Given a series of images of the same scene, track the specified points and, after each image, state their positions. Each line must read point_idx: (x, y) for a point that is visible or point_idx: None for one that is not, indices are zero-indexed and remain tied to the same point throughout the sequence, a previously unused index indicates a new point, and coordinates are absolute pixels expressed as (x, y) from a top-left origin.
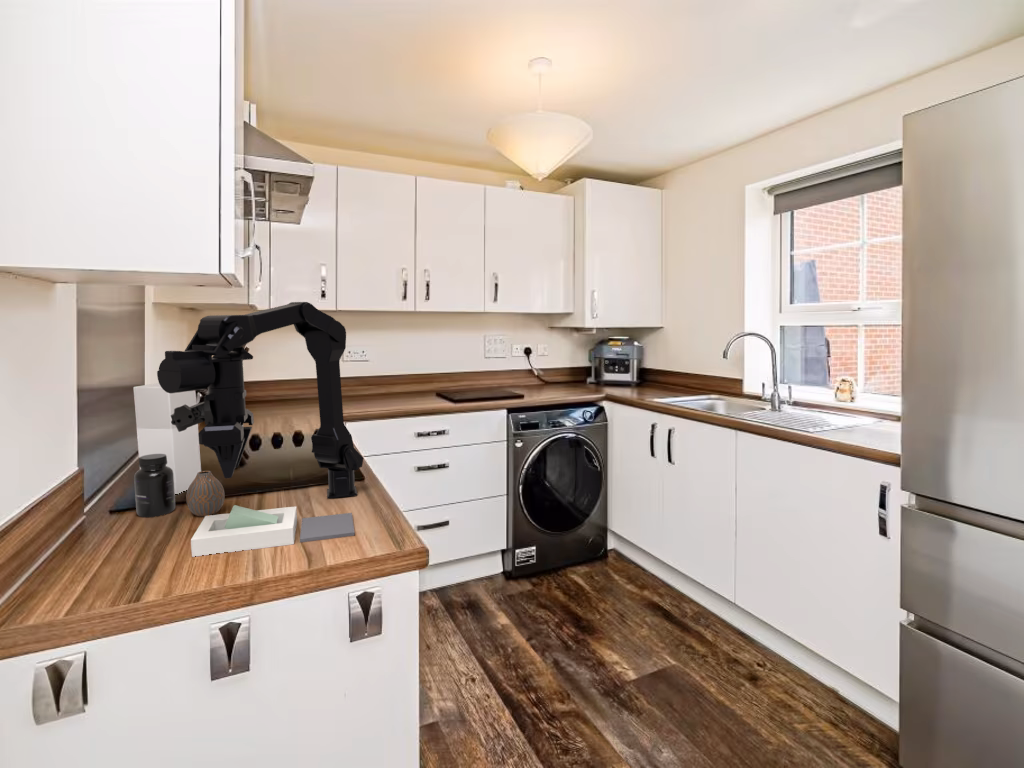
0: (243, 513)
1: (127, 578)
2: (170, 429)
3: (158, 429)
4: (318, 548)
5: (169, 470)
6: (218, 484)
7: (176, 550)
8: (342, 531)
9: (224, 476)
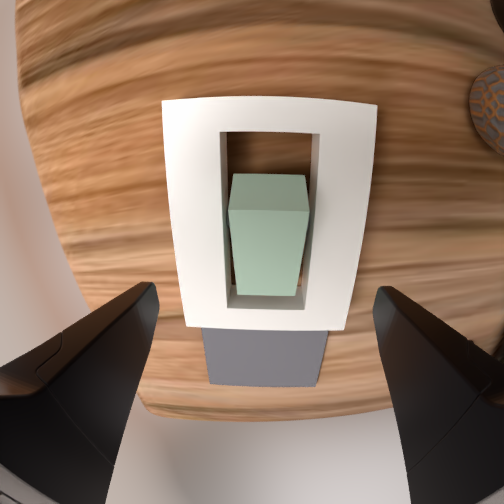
0: (247, 238)
1: (106, 13)
2: None
3: None
4: (165, 335)
5: None
6: None
7: (237, 50)
8: (219, 372)
9: (135, 286)
